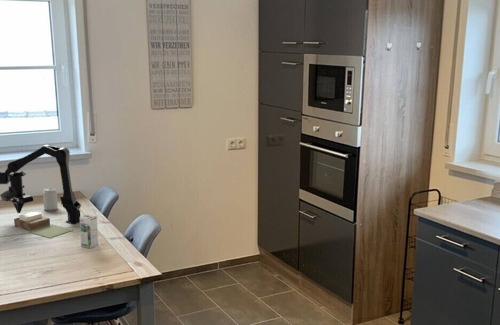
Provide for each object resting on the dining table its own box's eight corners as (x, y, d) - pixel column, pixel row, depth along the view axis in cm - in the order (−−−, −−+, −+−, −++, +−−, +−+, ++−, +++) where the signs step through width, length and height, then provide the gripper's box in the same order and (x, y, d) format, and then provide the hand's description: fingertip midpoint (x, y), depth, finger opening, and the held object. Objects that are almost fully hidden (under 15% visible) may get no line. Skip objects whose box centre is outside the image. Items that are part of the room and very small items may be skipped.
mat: (72, 230, 272) (72, 229, 271) (49, 238, 260) (49, 237, 260) (52, 224, 280) (52, 224, 280) (28, 232, 268) (28, 231, 268)
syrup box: (80, 246, 249) (78, 216, 246) (89, 242, 254) (88, 213, 252) (89, 248, 247) (88, 218, 244) (98, 244, 252) (97, 215, 249)
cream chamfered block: (41, 217, 280) (41, 213, 279) (26, 221, 272) (26, 217, 272) (34, 215, 283) (34, 211, 283) (19, 219, 276) (19, 215, 275)
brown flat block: (50, 225, 279) (49, 218, 278) (31, 231, 270) (30, 223, 269) (33, 221, 286) (32, 213, 285) (14, 226, 277) (14, 219, 276)
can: (60, 207, 311) (58, 187, 309) (54, 211, 304) (52, 190, 302) (47, 207, 312) (46, 187, 310) (41, 210, 305) (40, 190, 302)
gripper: (-9, 184, 278) (-6, 213, 281) (13, 189, 268) (15, 219, 271) (11, 180, 287) (13, 208, 290) (32, 185, 277) (35, 214, 280)
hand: (18, 212), depth 283 cm, fingers closed
